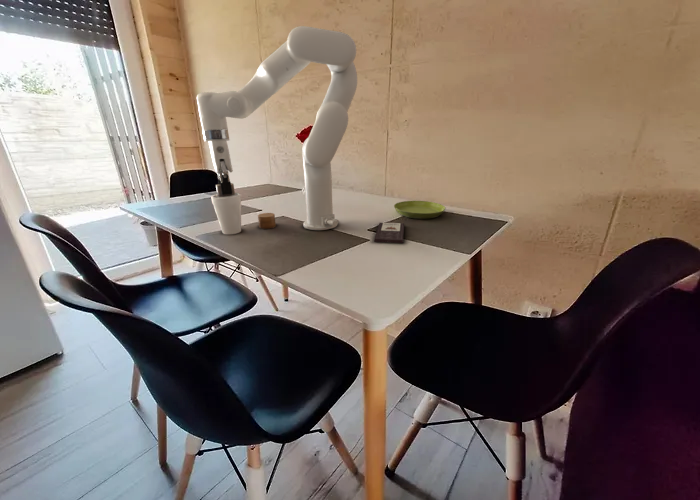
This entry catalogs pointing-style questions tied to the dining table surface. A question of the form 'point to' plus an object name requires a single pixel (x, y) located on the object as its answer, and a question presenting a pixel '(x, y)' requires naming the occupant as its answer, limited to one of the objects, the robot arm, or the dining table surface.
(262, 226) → the oak base
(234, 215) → the foam cup
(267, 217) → the oak chip middle
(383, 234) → the chocolate bar
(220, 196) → the walnut chip
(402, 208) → the saucer
